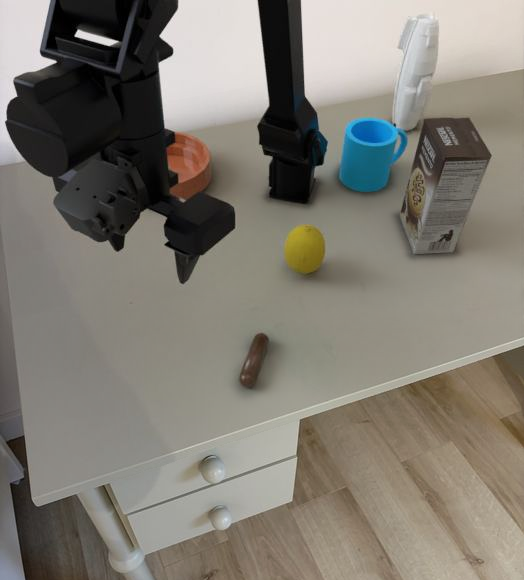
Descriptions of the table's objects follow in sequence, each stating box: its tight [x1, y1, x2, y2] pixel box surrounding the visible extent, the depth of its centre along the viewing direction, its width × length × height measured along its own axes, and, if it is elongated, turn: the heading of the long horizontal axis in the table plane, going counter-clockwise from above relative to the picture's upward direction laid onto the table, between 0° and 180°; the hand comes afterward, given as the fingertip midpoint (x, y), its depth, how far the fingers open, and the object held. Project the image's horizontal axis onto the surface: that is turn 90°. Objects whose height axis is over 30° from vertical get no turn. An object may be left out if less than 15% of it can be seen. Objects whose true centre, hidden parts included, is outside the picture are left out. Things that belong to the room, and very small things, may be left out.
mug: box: [338, 117, 408, 193], centre depth 86 cm, size 12×8×8 cm
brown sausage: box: [238, 332, 270, 389], centre depth 64 cm, size 8×2×2 cm, turn 164°
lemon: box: [283, 224, 326, 275], centre depth 72 cm, size 6×6×8 cm
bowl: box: [167, 131, 212, 200], centre depth 87 cm, size 15×15×4 cm
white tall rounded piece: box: [391, 11, 440, 132], centre depth 92 cm, size 7×18×7 cm
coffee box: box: [399, 117, 493, 255], centre depth 74 cm, size 9×6×16 cm
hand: (151, 265), depth 58 cm, fingers open, 9 cm apart
